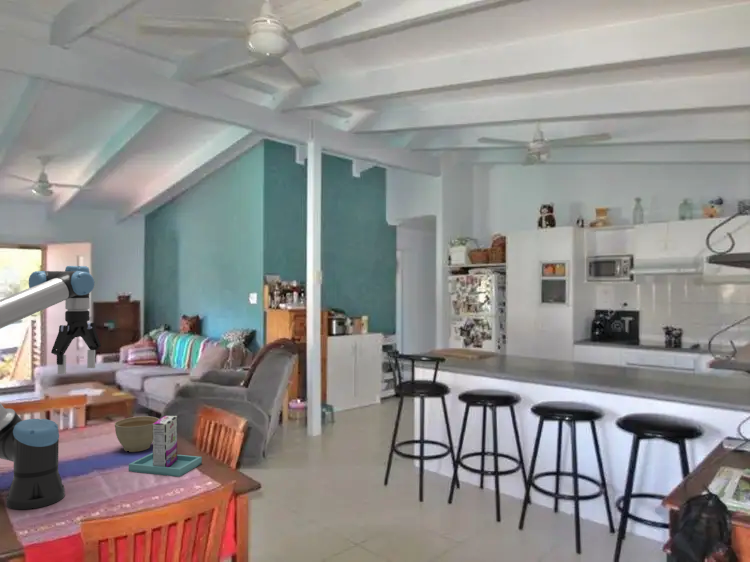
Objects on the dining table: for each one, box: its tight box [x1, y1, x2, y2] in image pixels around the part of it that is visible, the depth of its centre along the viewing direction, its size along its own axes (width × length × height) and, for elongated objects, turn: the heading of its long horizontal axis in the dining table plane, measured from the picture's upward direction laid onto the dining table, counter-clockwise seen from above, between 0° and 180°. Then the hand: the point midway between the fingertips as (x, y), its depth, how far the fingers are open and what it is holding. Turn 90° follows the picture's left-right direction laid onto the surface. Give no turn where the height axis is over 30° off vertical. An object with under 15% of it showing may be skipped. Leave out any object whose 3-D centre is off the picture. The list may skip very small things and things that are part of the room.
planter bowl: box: [114, 416, 160, 453], centre depth 222 cm, size 16×16×11 cm
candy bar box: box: [152, 415, 178, 467], centre depth 201 cm, size 11×5×16 cm, turn 179°
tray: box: [128, 452, 203, 478], centre depth 201 cm, size 14×20×2 cm
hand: (77, 371), depth 197 cm, fingers open, 13 cm apart
